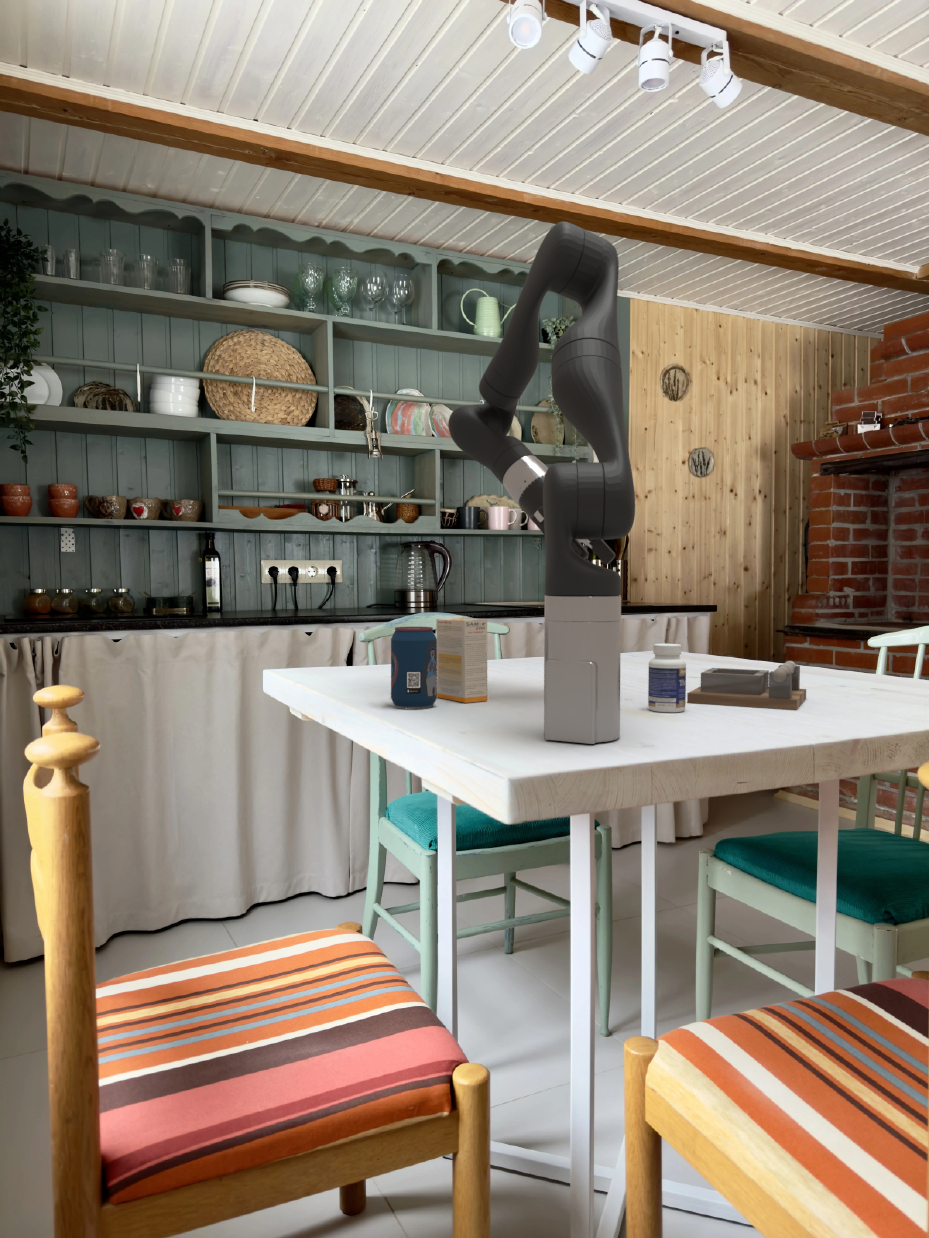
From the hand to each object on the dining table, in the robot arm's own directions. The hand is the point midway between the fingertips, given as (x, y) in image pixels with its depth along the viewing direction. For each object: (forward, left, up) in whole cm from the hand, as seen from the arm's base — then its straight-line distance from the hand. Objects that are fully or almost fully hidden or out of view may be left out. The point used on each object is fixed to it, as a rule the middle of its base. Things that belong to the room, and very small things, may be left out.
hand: (598, 559), depth 130 cm
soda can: (-16, +24, -23) cm, 36 cm away
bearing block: (+14, -20, -22) cm, 33 cm away
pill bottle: (-2, -11, -23) cm, 25 cm away
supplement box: (-6, +21, -23) cm, 31 cm away
